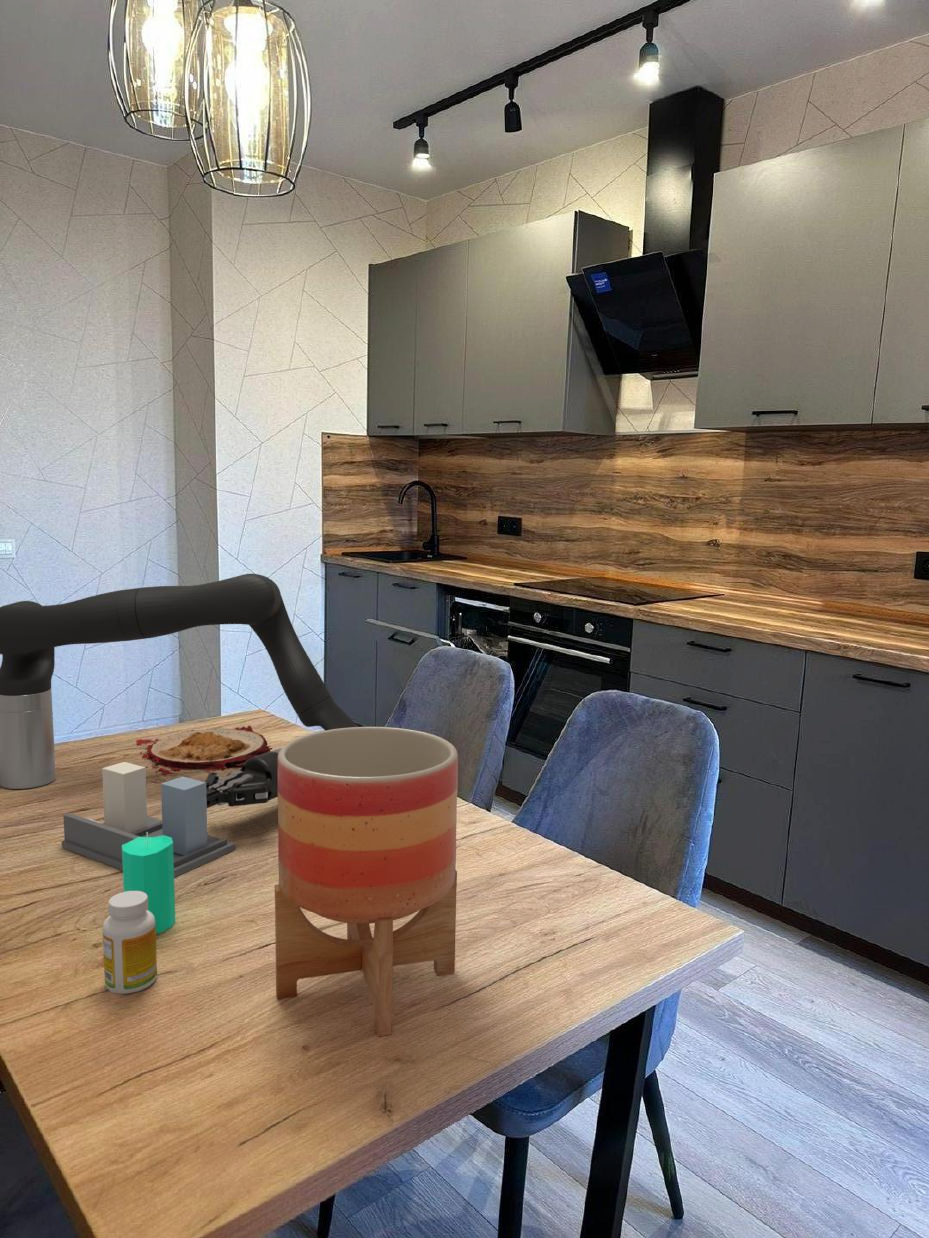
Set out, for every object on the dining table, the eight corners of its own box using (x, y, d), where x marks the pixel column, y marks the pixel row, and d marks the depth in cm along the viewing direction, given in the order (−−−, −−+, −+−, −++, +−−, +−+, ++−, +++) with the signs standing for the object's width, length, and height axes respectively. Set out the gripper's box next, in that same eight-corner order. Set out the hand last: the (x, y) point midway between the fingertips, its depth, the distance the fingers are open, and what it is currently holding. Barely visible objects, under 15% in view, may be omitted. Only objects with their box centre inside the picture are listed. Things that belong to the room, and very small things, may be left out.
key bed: (61, 847, 129) (60, 815, 128) (139, 818, 141) (138, 789, 140) (159, 883, 118) (158, 849, 117) (235, 849, 130) (235, 818, 129)
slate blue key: (163, 848, 126) (161, 783, 125) (184, 839, 130) (182, 776, 128) (186, 856, 124) (184, 790, 122) (207, 847, 127) (206, 782, 126)
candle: (185, 916, 109) (183, 826, 107) (153, 939, 103) (150, 844, 101) (146, 908, 111) (143, 820, 109) (113, 930, 105) (109, 837, 103)
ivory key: (104, 830, 133) (102, 768, 131) (126, 822, 136) (124, 761, 135) (125, 837, 130) (123, 774, 129) (147, 828, 134) (145, 767, 132)
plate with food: (251, 734, 195) (250, 719, 194) (279, 765, 171) (279, 747, 171) (136, 747, 184) (135, 731, 184) (150, 782, 160) (149, 763, 160)
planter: (479, 1021, 88) (485, 771, 85) (283, 1052, 83) (281, 786, 79) (431, 928, 107) (435, 720, 103) (269, 948, 102) (267, 729, 98)
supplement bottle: (165, 969, 97) (163, 888, 95) (143, 997, 91) (140, 911, 90) (120, 966, 97) (117, 885, 96) (95, 993, 92) (91, 908, 90)
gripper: (246, 744, 145) (163, 771, 131) (305, 758, 139) (225, 788, 124) (247, 787, 146) (165, 818, 132) (306, 802, 140) (226, 837, 125)
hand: (194, 803), depth 128 cm, fingers closed
